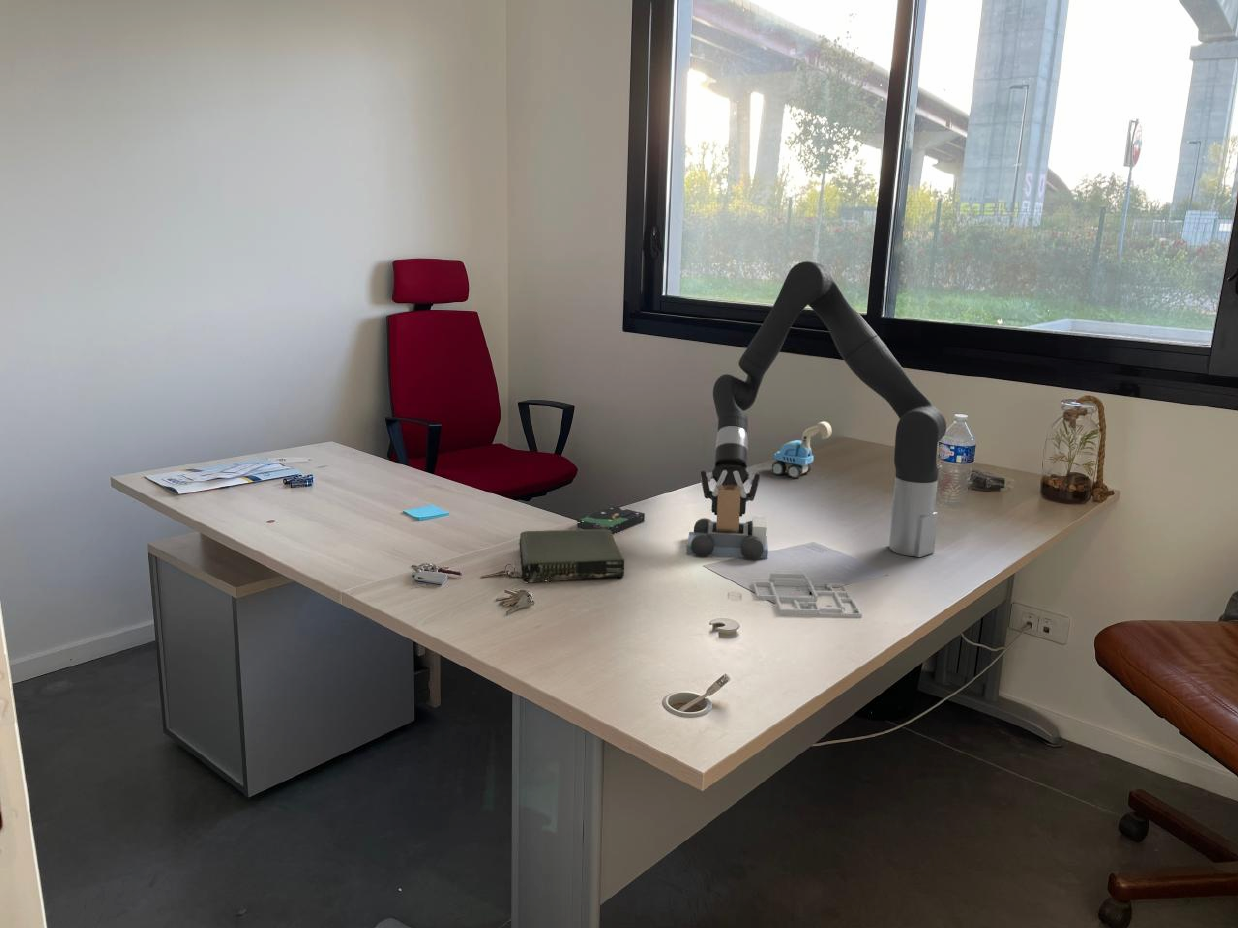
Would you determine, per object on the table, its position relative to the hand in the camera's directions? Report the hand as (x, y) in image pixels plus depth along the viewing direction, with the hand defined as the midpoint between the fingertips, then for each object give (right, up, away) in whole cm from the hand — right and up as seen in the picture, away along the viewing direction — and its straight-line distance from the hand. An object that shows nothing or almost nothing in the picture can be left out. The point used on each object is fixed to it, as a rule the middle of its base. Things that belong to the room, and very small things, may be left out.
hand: (728, 514), depth 208 cm
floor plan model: (+9, -16, -23) cm, 30 cm away
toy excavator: (+30, +8, +69) cm, 75 cm away
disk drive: (-27, -4, +21) cm, 34 cm away
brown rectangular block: (0, -4, +3) cm, 5 cm away
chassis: (0, -8, +4) cm, 9 cm away
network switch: (-36, -11, -7) cm, 38 cm away
